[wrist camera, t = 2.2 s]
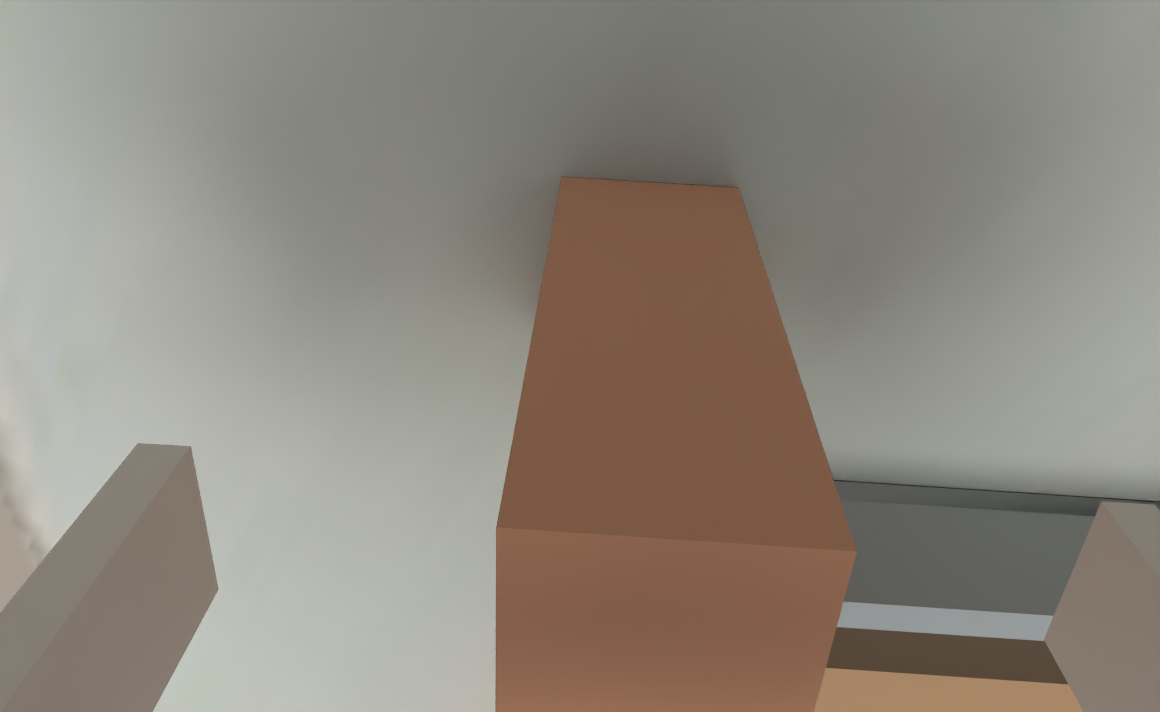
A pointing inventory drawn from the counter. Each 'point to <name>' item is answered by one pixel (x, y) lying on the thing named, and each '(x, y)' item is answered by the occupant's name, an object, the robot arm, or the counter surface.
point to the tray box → (953, 600)
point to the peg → (663, 473)
